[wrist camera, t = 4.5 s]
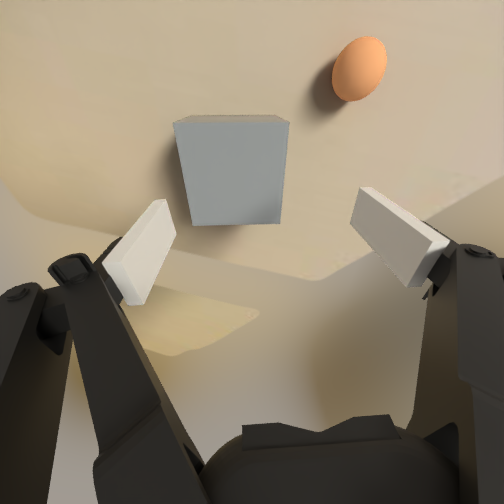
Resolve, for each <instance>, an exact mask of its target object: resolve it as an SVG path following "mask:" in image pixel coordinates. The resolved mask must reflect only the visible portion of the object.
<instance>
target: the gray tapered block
mask: <svg viewBox="0 0 504 504" xmlns="http://www.w3.org/2000/svg"><path fill="white" fill-rule="evenodd" d="M173 127H174V132H175V137H176V142H177V147H178V152H179V157H180V163H181V168H182V173H183V178H184V183H185V188H186V193H187V198H188V204H189V209H190V214H191V219H192V224H193V226H206V225H249V224H280V219H281V208H282V197H283V186H284V176H285V165H286V154H287V143H288V132H289V122H288V121H286V120H284V119H282V118H280V117H278V116H276V115H191V116H189V117H186V118H184V119H181V120H178V121H176V122H173Z"/></svg>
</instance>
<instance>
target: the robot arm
mask: <svg viewBox="0 0 504 504" xmlns="http://www.w3.org/2000/svg"><path fill="white" fill-rule="evenodd" d="M350 224H351V225H352V226H353V228H354V229H355V230H356V231H357V232H358V233H359V234H360V236H361V237H362V238H363V239H364V240H365V241H366V242H367V243H368V245H369V246H370V247H371V248H372V249H373V250H374V251H375V253H376V254H377V255H378V256H379V257H380V258H381V259H382V260H383V262H384V263H385V264H386V265H387V266H388V267H389V268H390V270H391V271H392V272H393V273H394V274H395V275H396V276H397V277H398V279H399V280H400V281H401V282H402V283H403V284H404V285H405V287H420V286H422V285H423V283H424V282H425V280H426V278H427V277H428V278H429V279H430V280H431V281H432V282H433V283H432V285H431V286H430V288H429V289H428V291H427V292H426V294H425V295H424V297H423V298H422V299H424V300H425V299H426V298H427V297H428V301H427V309H426V317H425V325H424V332H423V340H422V348H421V356H420V364H419V372H418V379H417V387H416V395H415V403H414V410H413V415H412V418H411V420H410V422H409V424H408V426H407V428H406V430H405V429H402V428H400V427H397V426H394V424H393V422H392V419H391V417H390V415H389V414H387V415H374V416H361V417H353V418H350V419H348V420H346V421H344V422H342V423H340V424H337V425H335V426H333V427H331V428H329V429H326V430H324V431H322V432H314V431H310V430H306V429H302V428H298V427H293V426H290V425H286V424H282V423H267V424H252V425H242V435H239V436H237V437H235V438H233V439H232V440H230V441H229V442H227V443H226V444H224V445H223V446H222V447H221V448H220V449H219V450H218V451H217V452H216V453H215V454H214V455H213V456H212V457H211V458H210V460H209V461H208V462H207V464H206V465H205V464H204V461H203V460H202V458H201V456H200V454H199V452H198V451H197V449H196V447H195V445H194V443H193V442H192V440H191V439H190V437H189V435H188V433H187V432H186V430H185V428H184V426H183V424H182V422H181V420H180V419H179V417H178V415H177V413H176V411H175V409H174V407H173V405H172V403H171V401H170V399H169V397H168V395H167V394H166V392H165V390H164V388H163V386H162V384H161V382H160V380H159V378H158V376H157V374H156V373H155V371H154V369H153V367H152V365H151V363H150V361H149V359H148V357H147V355H146V353H145V352H144V350H143V348H142V346H141V344H140V342H139V340H138V338H137V336H136V334H135V332H134V331H133V329H132V327H131V325H130V323H129V321H128V319H127V317H126V315H125V313H124V311H123V309H122V308H121V306H120V305H119V304H120V303H121V301H122V299H123V298H124V300H125V301H126V303H127V305H128V306H133V305H144V303H145V301H146V299H147V297H148V295H149V293H150V290H151V288H152V286H153V284H154V282H155V280H156V277H157V275H158V273H159V271H160V269H161V267H162V264H163V262H164V260H165V258H166V256H167V254H168V252H169V249H170V247H171V245H172V243H173V241H174V239H175V237H176V231H175V227H174V224H173V221H172V217H171V214H170V211H169V208H168V204H167V201H166V199H160V200H154V201H153V202H152V203H151V205H150V206H149V207H148V208H147V209H146V211H145V212H144V213H143V214H142V215H141V216H140V218H139V219H138V220H137V221H136V222H135V224H134V225H133V226H132V227H131V228H130V230H129V231H128V232H127V233H126V234H125V236H124V237H119V238H118V239H116V240H115V241H114V242H112V243H111V244H110V245H109V246H108V248H107V249H106V250H105V251H104V252H103V254H102V255H100V257H99V258H98V259H97V260H96V261H95V262H94V263H93V264H92V262H91V261H90V259H89V257H88V256H87V255H86V254H83V253H77V254H71V255H68V256H65V257H63V258H60V259H58V260H57V261H55V262H54V263H52V264H51V265H50V266H49V268H48V272H49V273H50V275H51V276H52V277H53V278H54V279H55V280H56V282H57V283H58V284H59V285H60V286H57V287H53V288H49V289H45V290H44V289H42V287H41V286H40V285H39V284H37V283H32V282H31V283H25V284H22V285H19V286H15V287H13V288H12V289H9V290H7V291H6V292H5V293H4V294H2V295H1V296H0V504H47V499H48V493H49V487H50V480H51V474H52V468H53V461H54V455H55V449H56V442H57V436H58V430H59V423H60V417H61V411H62V405H63V398H64V392H65V385H66V379H67V373H68V366H69V360H70V354H71V348H72V342H73V341H74V345H75V349H76V353H77V358H78V362H79V366H80V370H81V374H82V379H83V383H84V387H85V391H86V395H87V399H88V404H89V408H90V412H91V416H92V420H93V424H94V429H95V433H96V437H97V441H98V446H99V456H98V457H97V458H96V460H95V461H94V464H93V478H94V485H95V491H96V495H97V500H98V504H504V258H498V257H497V256H496V255H495V254H494V253H493V252H491V251H490V250H487V249H485V248H483V247H480V246H477V245H472V244H460V245H459V244H457V243H456V242H454V241H453V240H451V239H450V238H448V237H447V236H445V235H444V234H442V233H441V232H439V231H438V230H436V229H435V228H433V227H432V226H430V225H429V224H427V223H426V222H424V221H421V220H419V219H417V218H416V217H414V216H413V215H412V214H410V213H409V212H407V211H406V210H404V209H403V208H401V207H400V206H398V205H397V204H395V203H394V202H392V201H391V200H389V199H388V198H386V197H385V196H383V195H382V194H380V193H379V192H377V191H376V190H374V189H373V188H372V187H362V188H359V191H358V195H357V199H356V203H355V206H354V210H353V214H352V217H351V221H350Z"/></svg>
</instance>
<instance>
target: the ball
mask: <svg viewBox="0 0 504 504" xmlns="http://www.w3.org/2000/svg"><path fill="white" fill-rule="evenodd" d="M386 63H387V55H386V51H385V48H384V46H383V44H382V43H381V42H380V41H379V40H378V39H376V38H374V37H368V36H366V37H361V38H358V39H356V40H354V41H352V42H351V43H350V44H348V45H347V46H346V47H345V48H344V49H343V51H342V52H341V53H340V55H339V56H338V58H337V60H336V62H335V65H334V68H333V72H332V85H333V89H334V91H335V93H336V94H337V95H338V96H339V97H340V98H341V99H343V100H345V101H357V100H360V99H362V98H364V97H366V96H367V95H369V94H370V93H371V92H372V91H373V90H374V89H375V88H376V87H377V86H378V84H379V83H380V81H381V79H382V77H383V75H384V72H385V69H386Z"/></svg>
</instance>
